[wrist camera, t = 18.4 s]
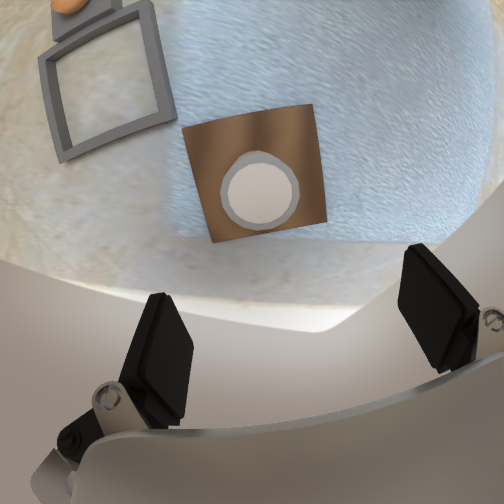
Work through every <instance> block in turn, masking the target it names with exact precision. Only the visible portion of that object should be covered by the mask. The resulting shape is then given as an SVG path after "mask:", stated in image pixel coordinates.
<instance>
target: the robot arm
mask: <svg viewBox="0 0 504 504" xmlns="http://www.w3.org/2000/svg"><path fill="white" fill-rule="evenodd" d="M478 307H479V304H478V303H477V302H476V300H475V299H474V298H473V297H472V296H471V294H470V293H469V292H468V291H467V290H466V289H465V288H464V286H463V285H462V284H461V283H460V282H459V281H458V280H457V279H456V278H455V276H454V275H453V274H452V273H451V272H450V271H449V270H448V269H447V268H446V267H445V266H444V265H443V264H442V263H441V262H440V260H438V259H437V257H436V256H435V255H433V253H432V252H431V251H430V250H429V249H428V248H427V247H426V246H425V245H424V244H422V243H419V244H415V245H410V246H409V247H408V249H407V250H406V251H405V253H404V261H403V269H402V276H401V283H400V290H399V296H398V308H399V310H400V312H401V313H402V315H403V317H404V318H405V320H406V322H407V323H408V325H409V327H410V328H411V330H412V332H413V334H414V335H415V337H416V339H417V341H418V342H419V344H420V346H421V348H422V350H423V351H424V353H425V355H426V357H427V359H428V361H429V363H430V364H431V366H432V367H433V368H436V370H437V372H438V373H439V374H441V373H443V372H445V371H447V370H449V369H450V370H451V372H450V373H448V374H446V375H443V376H441V377H439V378H436V379H434V380H432V381H429V382H427V383H424V384H422V385H419V386H417V387H414V388H412V389H409V390H406V391H404V392H401V393H398V394H395V395H392V396H389V397H386V398H383V399H380V400H376V401H373V402H370V403H366V404H363V405H359V406H356V407H352V408H348V409H344V410H340V411H336V412H332V413H327V414H323V415H318V416H313V417H308V418H302V419H297V420H291V421H284V422H277V423H270V424H262V425H253V426H242V427H230V428H209V429H168V426H169V425H170V426H179V425H180V419H182V418H183V417H184V414H185V407H186V399H187V392H188V384H189V377H190V370H191V363H192V356H193V350H194V345H193V341H192V339H191V337H190V335H189V333H188V331H187V329H186V327H185V325H184V323H183V321H182V319H181V317H180V315H179V313H178V311H177V309H176V306H175V304H174V302H173V300H172V298H171V296H170V295H166V294H165V293H164V292H162V293H156V294H151V295H150V296H149V298H148V300H147V303H146V305H145V308H144V310H143V313H142V316H141V318H140V321H139V323H138V326H137V329H136V331H135V334H134V337H133V339H132V342H131V345H130V348H129V350H128V353H127V356H126V359H125V362H124V365H123V368H122V371H121V374H120V377H119V380H118V382H117V381H109V382H106V383H104V384H102V385H101V386H99V387H98V388H97V389H96V391H95V392H94V394H93V397H92V407H93V408H92V409H91V410H89V411H88V412H86V413H85V414H84V415H82V416H81V417H79V418H78V419H77V420H75V421H74V422H72V423H71V424H70V425H68V426H66V427H65V428H64V429H63V430H62V431H61V432H60V434H59V436H58V439H57V447H58V449H57V450H56V449H53V450H52V451H51V452H50V453H49V455H48V456H47V457H46V458H45V460H44V461H43V462H42V463H41V465H40V466H39V467H38V468H37V470H36V471H35V472H34V473H33V475H32V477H31V487H32V490H33V491H34V493H35V494H36V496H37V497H38V499H39V500H40V502H41V503H42V504H504V311H502V310H501V309H499V308H497V307H486V308H484V309H483V310H482V311H480V310H479V309H478Z"/></svg>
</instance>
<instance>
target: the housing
mask: <svg viewBox="0 0 504 504" xmlns="http://www.w3.org/2000/svg"><path fill="white" fill-rule="evenodd" d="M51 14H52V33H53V41H55V42H59V43H57V44H56V45H54V46H53V47H52V48H50V49H49V50H47V51H46V52H44V53H43V54H42V55H40V56H39V57H38V65H39V73H40V80H41V87H42V93H43V98H44V104H45V109H46V114H47V118H48V123H49V127H50V131H51V135H52V139H53V143H54V147H55V150H56V154H57V157H58V161H59V164H61V163H64V162H66V161H68V160H70V159H73V158H75V157H77V156H79V155H81V154H83V153H85V152H88V151H90V150H92V149H94V148H97V147H99V146H101V145H104V144H106V143H108V142H111V141H113V140H116V139H118V138H121V137H124V136H126V135H129V134H132V133H134V132H137V131H140V130H143V129H146V128H149V127H152V126H155V125H158V124H161V123H164V122H167V121H170V120H174V119H177V118H178V117H177V113H176V108H175V104H174V100H173V96H172V91H171V87H170V83H169V78H168V74H167V69H166V65H165V60H164V55H163V51H162V46H161V41H160V36H159V31H158V26H157V21H156V16H155V10H154V5H153V3H152V2H151V1H150V0H141V1H138V2H136V3H133V4H131V5H128V6H126V7H124V8H122V0H88V2H87V3H86V4H85V5H84V6H83V7H82V8H81V9H79V10H78V11H76V12H75V13H72V14H69V15H65V14H62V13H59V12H56V11H53V10H52V8H51ZM138 17H140V22H141V28H142V33H143V39H144V44H145V49H146V54H147V59H148V64H149V68H150V73H151V77H152V82H153V86H154V91H155V95H156V99H157V104H158V108H159V112H157V113H154V114H151V115H148V116H145V117H143V118H140V119H137V120H134V121H132V122H129V123H127V124H124V125H121V126H119V127H116V128H114V129H112V130H109V131H107V132H104V133H102V134H100V135H98V136H95V137H93V138H91V139H89V140H87V141H85V142H82V143H80V144H78V145H76V146H74V147H73V146H72V143H71V139H70V135H69V131H68V128H67V123H66V119H65V115H64V110H63V106H62V101H61V96H60V90H59V85H58V79H57V72H56V65H55V61H56V60H57V59H59V58H60V57H62V56H63V55H65V54H67V53H68V52H70V51H72V50H73V49H75V48H77V47H78V46H80V45H82V44H84V43H85V42H87V41H89V40H91V39H93V38H95V37H97V36H99V35H101V34H103V33H105V32H107V31H109V30H111V29H113V28H115V27H117V26H119V25H122V24H124V23H126V22H129V21H131V20H133V19H136V18H138Z"/></svg>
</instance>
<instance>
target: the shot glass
mask: <svg viewBox="0 0 504 504" xmlns="http://www.w3.org/2000/svg"><path fill="white" fill-rule="evenodd" d="M220 195H221V201H222V206H223V208H224V210H225V211H226V213H227V214H228V216H229V217H230V219H231V220H233V221H234V222H236V223H237V224H239V225H240V226H242V227H244V228H248V229H252V230H257V231H259V230H266V229H273V228H274V227H276V226H278V225H280V224H282V223H284V222H286V220H287V219H288V218H289V217H290V216H291V215H292V214H293V212H294V211H295V209H296V206H297V203H298V201H299V198H300V194H299V182H298V180H297V178H296V177H295V175H294V173H293V171H292V169H291V168H290V167H288V166H287V165H286V164H284V163H283V162H282V161H281V160H279V159H278V158H276V157H274V156H273V155H271V154H269V153H266V152H262V151H259V150H258V151H250V152H247V153H245V154H243V155H241V156H240V157H239V158H238V159H237V160H236V161H235V163H234V164H233V165H232V167H231V168H230V169H229V171H228V172H227V174H226V175H225V176H224V178H223V182H222V186H221V190H220Z"/></svg>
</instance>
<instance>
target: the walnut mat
mask: <svg viewBox="0 0 504 504" xmlns="http://www.w3.org/2000/svg"><path fill="white" fill-rule="evenodd" d="M182 132H183V136H184V140H185V144H186V148H187V152H188V156H189V160H190V164H191V167H192V171H193V175H194V179H195V182H196V186H197V190H198V193H199V197H200V200H201V204H202V208H203V211H204V215H205V218H206V222H207V225H208V229H209V232H210V236H211V239H212V242H213V243H217V242H222V241H228V240H233V239H238V238H243V237H248V236H254V235H259V234H264V233H269V232H275V231H280V230H285V229H291V228H296V227H302V226H307V225H313V224H318V223H324V222H327V213H326V202H325V192H324V183H323V174H322V165H321V158H320V150H319V143H318V136H317V129H316V123H315V117H314V111H313V105H312V104H307V105H298V106H290V107H283V108H276V109H270V110H264V111H258V112H252V113H247V114H242V115H237V116H232V117H227V118H223V119H218V120H214V121H210V122H206V123H202V124H198V125H194V126H190V127H187V128H183V129H182ZM258 150H259V151H262V152H266V153H269V154H271V155H273V156H274V157H276V158H278V159H279V160H281V161H282V162H283V163H284V164H286V165H287V166H288V167H290V168H291V169H292V171H293V173H294V175H295V177H296V178H297V180H298V182H299V194H300V198H299V201H298V203H297V206H296V209H295V211H294V212H293V214H292V215H291V216H290V217H289V218H288V219H287V220H286V222H284V223H282V224H280V225H278V226H276V227H274V228H273V229H266V230H259V231H257V230H252V229H248V228H244V227H242V226H240V225H239V224H237V223H236V222H234V221H233V220H231V219H230V217H229V216H228V214H227V213H226V211H225V210H224V208H223V206H222V201H221V195H220V190H221V186H222V182H223V178H224V176H225V175H226V174H227V172H228V171H229V169H230V168H231V167H232V165H233V164H234V163H235V161H236V160H237V159H238V158H239V157H240V156H241V155H243V154H245V153H247V152H250V151H258Z"/></svg>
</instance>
